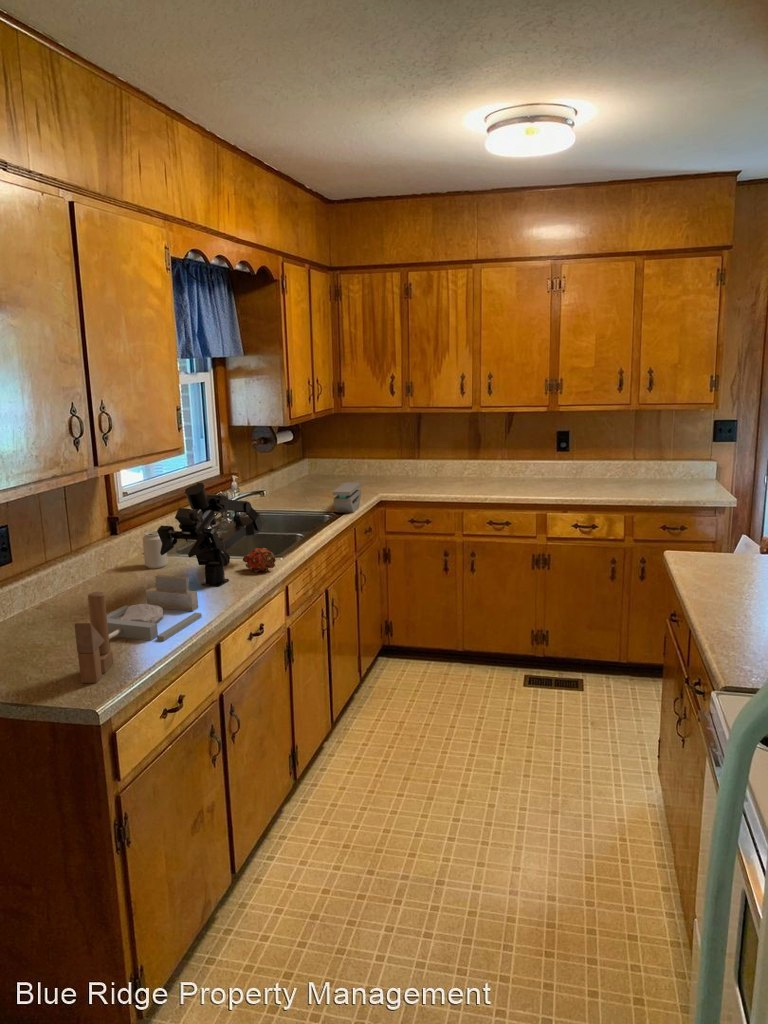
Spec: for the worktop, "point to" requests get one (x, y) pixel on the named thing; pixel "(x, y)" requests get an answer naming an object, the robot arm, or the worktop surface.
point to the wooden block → (94, 641)
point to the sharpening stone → (347, 497)
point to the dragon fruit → (260, 560)
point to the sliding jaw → (172, 594)
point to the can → (153, 551)
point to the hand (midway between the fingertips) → (174, 555)
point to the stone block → (144, 613)
